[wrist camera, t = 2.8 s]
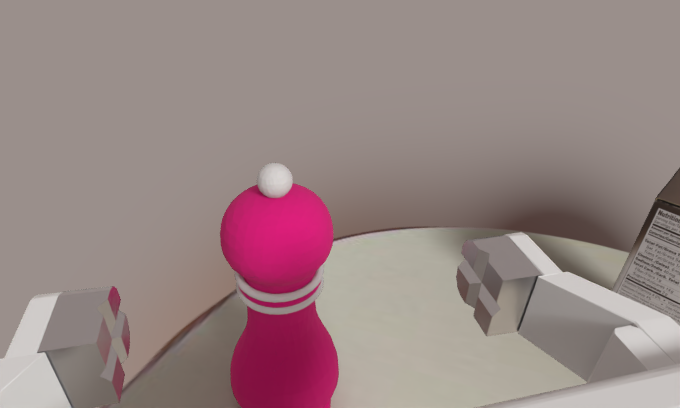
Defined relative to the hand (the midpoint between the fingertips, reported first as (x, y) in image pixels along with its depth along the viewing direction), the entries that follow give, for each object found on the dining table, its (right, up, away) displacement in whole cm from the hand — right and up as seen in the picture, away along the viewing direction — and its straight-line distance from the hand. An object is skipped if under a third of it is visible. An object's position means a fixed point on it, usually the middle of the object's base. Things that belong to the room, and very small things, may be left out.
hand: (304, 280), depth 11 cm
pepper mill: (-3, -13, +23) cm, 26 cm away
